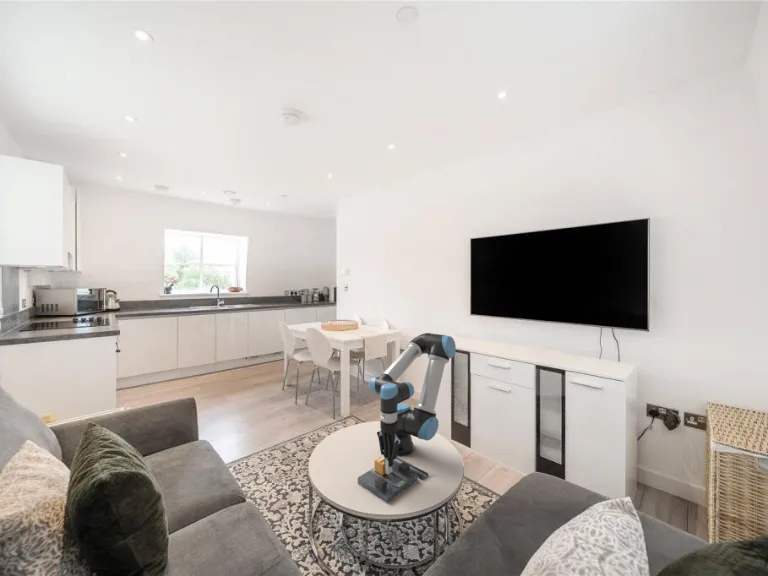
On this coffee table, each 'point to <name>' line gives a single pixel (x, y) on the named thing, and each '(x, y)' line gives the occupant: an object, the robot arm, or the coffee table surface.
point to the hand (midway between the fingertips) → (388, 472)
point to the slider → (380, 466)
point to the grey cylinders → (412, 468)
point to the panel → (388, 481)
